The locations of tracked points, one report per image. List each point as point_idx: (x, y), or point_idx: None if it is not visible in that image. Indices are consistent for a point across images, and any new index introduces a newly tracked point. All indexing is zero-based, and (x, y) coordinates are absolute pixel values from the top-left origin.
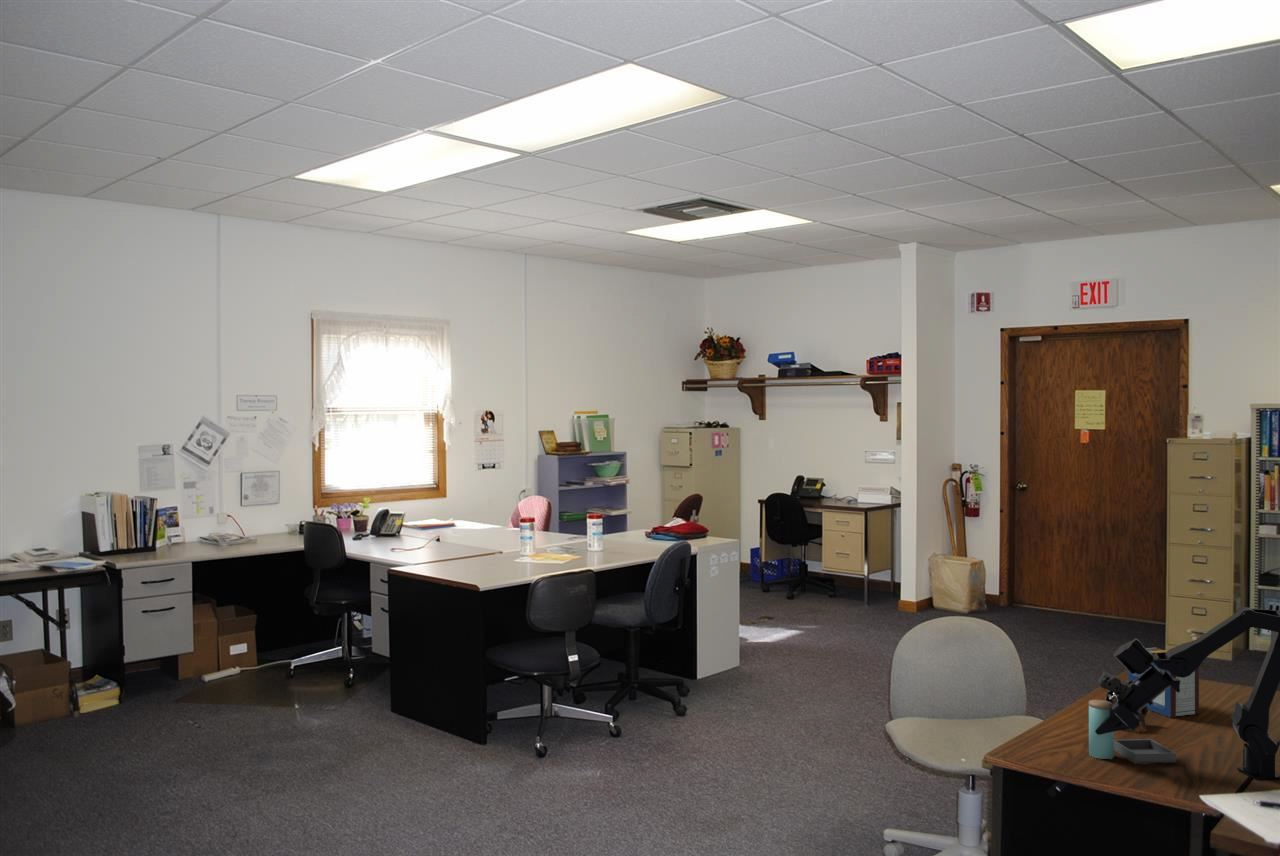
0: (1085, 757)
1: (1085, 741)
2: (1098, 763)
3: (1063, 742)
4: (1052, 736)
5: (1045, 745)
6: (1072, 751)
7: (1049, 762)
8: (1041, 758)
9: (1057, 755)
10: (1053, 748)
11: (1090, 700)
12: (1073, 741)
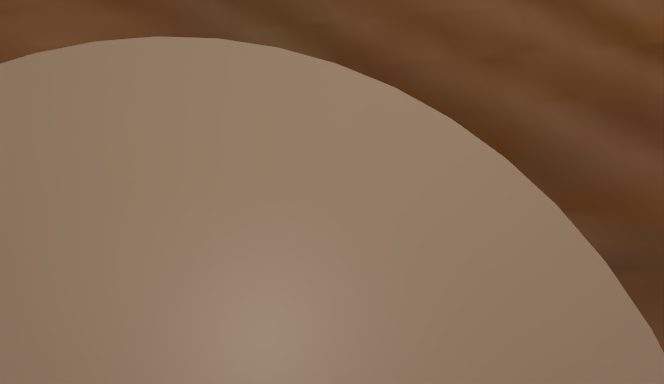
0: None
1: (646, 254)
2: None
3: (512, 104)
4: (613, 26)
5: (369, 5)
6: None
7: (9, 59)
8: (75, 10)
9: None
10: (328, 56)
11: (346, 85)
12: (584, 168)
